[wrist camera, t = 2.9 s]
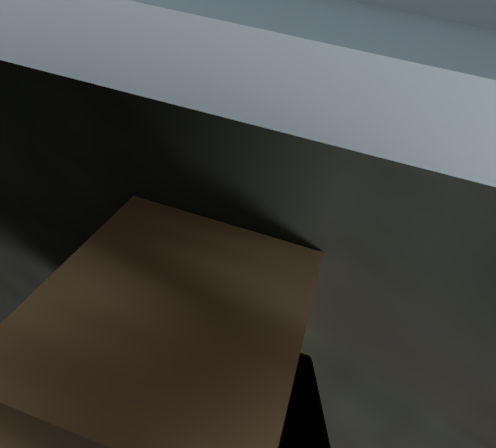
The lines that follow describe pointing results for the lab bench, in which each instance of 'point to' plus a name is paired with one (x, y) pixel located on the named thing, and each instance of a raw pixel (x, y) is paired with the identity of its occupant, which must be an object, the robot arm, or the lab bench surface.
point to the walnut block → (158, 337)
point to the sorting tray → (290, 67)
